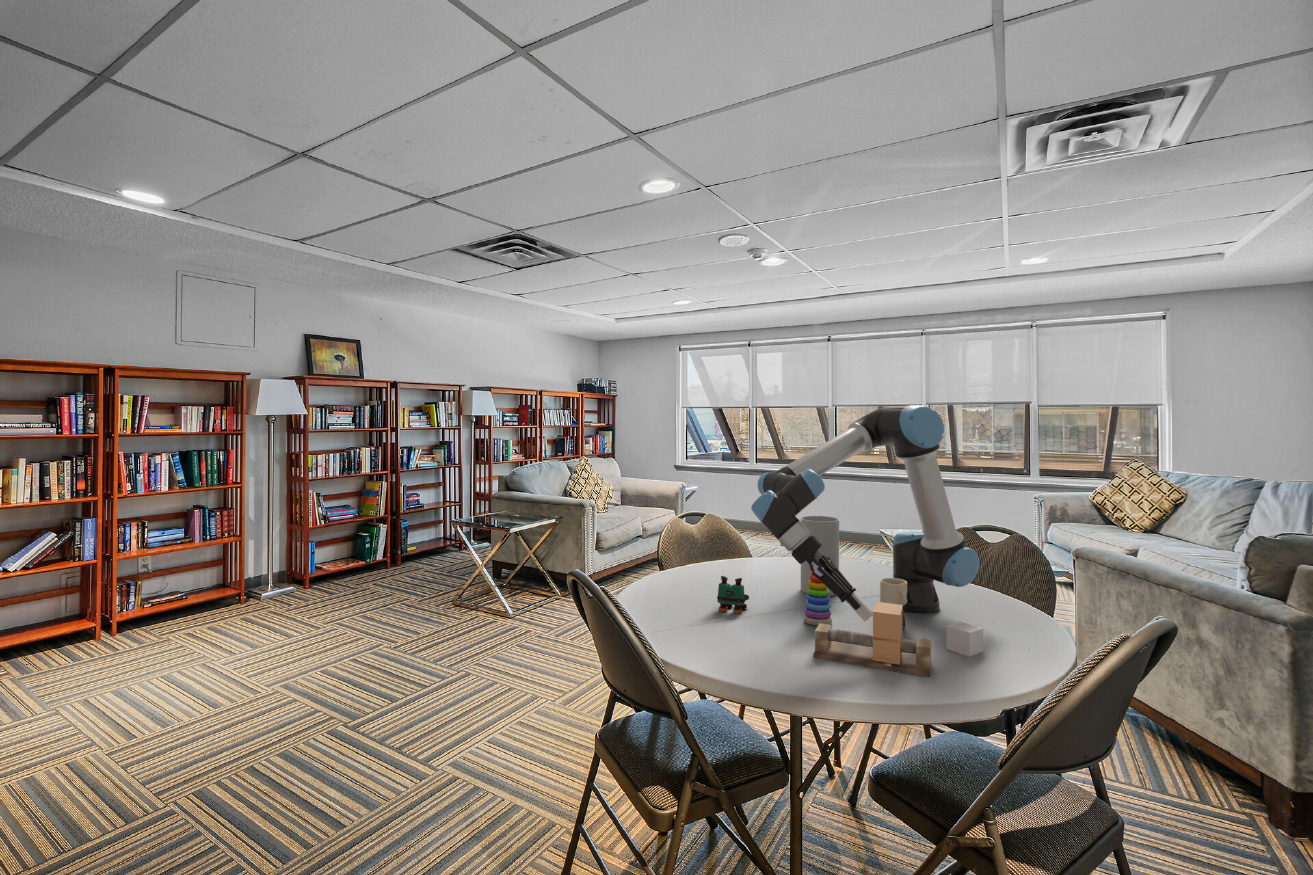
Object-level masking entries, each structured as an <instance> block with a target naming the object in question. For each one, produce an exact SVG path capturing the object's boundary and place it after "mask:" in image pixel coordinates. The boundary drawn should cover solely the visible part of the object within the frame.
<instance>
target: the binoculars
mask: <svg viewBox="0 0 1313 875" xmlns="http://www.w3.org/2000/svg"><path fill="white" fill-rule="evenodd" d="M742 579H743V578H742V577H739V578H735V579H734V582H735V584H734V583H733V584H731V583H728V577H727V576H726V575H725V576H724V575H721V576H720V580H721V582H719V583H718V589H717V596H716V600H717V603H718V604H719V605H718V611H719V612H721V613H725V612H727V611H728V608H730V609H731V608H732V609H733V612H732V613H734V614H738V615H741V614H743V610H744V609H747V608H748V605H747V604H746V603H745V602H746V601H748V600H750V595H748V594H746V593H745V585H744V584H742V582H743V580H742ZM733 606H734V608H733Z"/></svg>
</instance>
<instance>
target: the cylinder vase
mask: <svg viewBox="0 0 1313 875" xmlns="http://www.w3.org/2000/svg"><path fill="white" fill-rule="evenodd" d="M800 521H801V522H802V524H803V525H804V526H805V527H806V528H807V529H808V530H809V531H810V535H814V536H815V538H816V539H817V540H818V541H819V542H820V543H821V544H822V546H821V547H820V548H819V549H818V551H819V552H820V553H821V554H822V555H825V556H826V557H829V558H830V559H831V560H832V562H833V563H834V565H835V566H836V567H837V568H838V570H839V571H840V518H838V517H835V516H825V515H806V516H805V515H804V516H802V517H800ZM811 574H812V571H811V569H810V565H809V564H808V563H807V561H805V562H803V563H802V564H800V591H801V592H802V593H803V594H805V595H808V594H809V593H808V588H809V586H808V583H809V581H811V580H810V575H811ZM827 589H828V590H829V595H828V596H829V597H833V596H834V597H835V596H836V595H835V594H834V593H833V592H832V591H831V590H830V589H829V588H827Z"/></svg>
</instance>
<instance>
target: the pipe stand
mask: <svg viewBox="0 0 1313 875" xmlns="http://www.w3.org/2000/svg"><path fill="white" fill-rule="evenodd" d="M901 652H902V657H901V662H900V665H898V664H892V663H886V662H880V661H874V660H873V633H872V634H871V633H864V632H857V631H850V630H843V629H837V628H833V624H822V623H819V625H818V626H816V628H815V630H814V652H812V657H813V658H814V659H820V660H827V661H832V662H836V663H837V662H838V663H843V662H845V664H849V665H850V664H851V665H856V666H861V665H863V666H862V667H868V668H873V667H874V668H873V669H880V670H885V669H887V671H891V672H896V671H899V672H898V673H902V672H903V674H908V673H910V675H915V676H920V675H922V676H921V677H926V676H927V678H930V677H931V666H932V655H931V654H932V639H930V638H926V637H925V638H924V637H918V636H917V637H916V640H911V639H906V638H905V639H904V638H902V639H901Z"/></svg>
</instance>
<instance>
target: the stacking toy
mask: <svg viewBox="0 0 1313 875" xmlns="http://www.w3.org/2000/svg"><path fill="white" fill-rule="evenodd" d="M810 569H811V568H810ZM811 571H812V572H813V570H812V569H811ZM810 580H811V581H809V583H808V586H809V588H808V593H809V594H806V602H805V608H804V610H803V611H804V614H803V621H804V623H806V624H808V625H811V626H814V627H815V626H816V627H818V625H819V623H822V624H829V625H832V623H833V617H832V611H831V606H832V605H831V596H828V595H829V590H828V589H827V588H828V587H827V586H825V585H824V584H823V583H822V582H821V581H820V580H819V579H818V578H816V577H815V576H814V575H813V574H811V575H810Z"/></svg>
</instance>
